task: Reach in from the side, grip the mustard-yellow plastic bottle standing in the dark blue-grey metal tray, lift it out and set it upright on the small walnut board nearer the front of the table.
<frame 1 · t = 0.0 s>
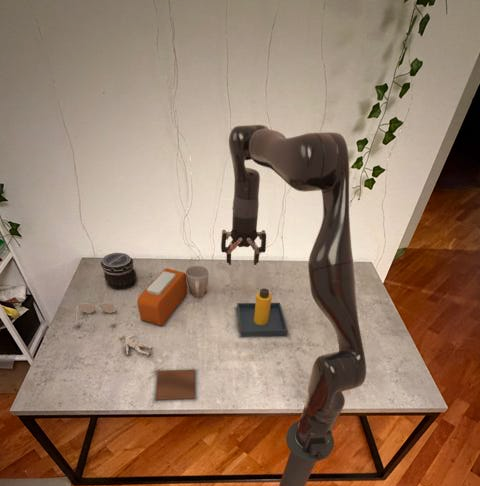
hand: (242, 263, 112), 23 cm above the table, tool pointing down, fingers open, 8 cm apart
yellow bottle: (261, 320, 131), resting on tray
mug: (198, 295, 140), on the table
orange box: (165, 307, 134), on the table
soldier figure: (136, 349, 118), on the table
board: (175, 385, 109), on the table
tray: (260, 321, 131), on the table
sunglasses: (97, 320, 127), on the table
container: (122, 282, 143), on the table
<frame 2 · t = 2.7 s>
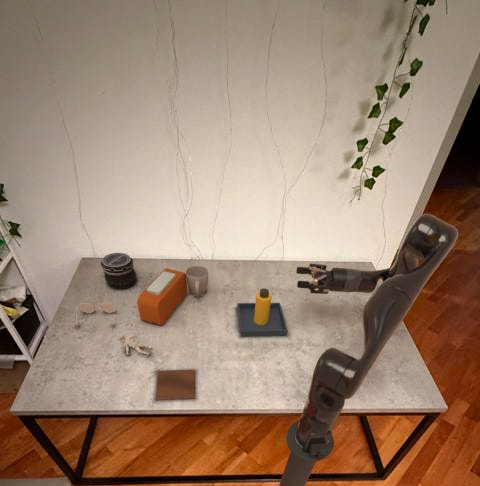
hand: (297, 277, 115), 20 cm above the table, tool horizontal, fingers open, 8 cm apart
nothing on the table moved.
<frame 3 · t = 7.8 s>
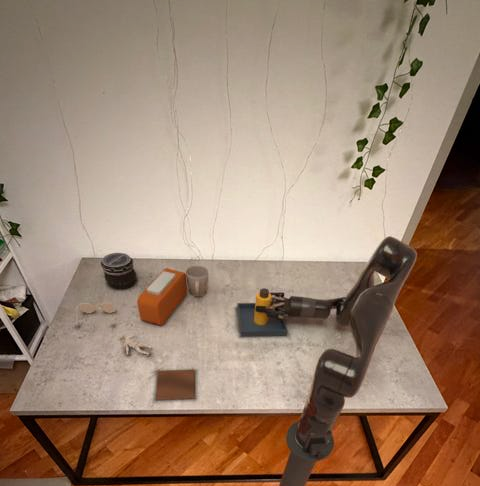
hand: (256, 303, 125), 8 cm above the table, tool horizontal, fingers closed on yellow bottle, 5 cm apart
yellow bottle: (261, 320, 131), point 1 cm above the table, touching gripper, tray
everything else where it was.
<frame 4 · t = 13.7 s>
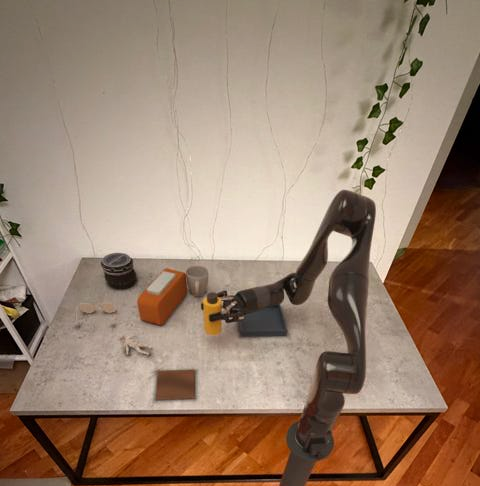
hand: (205, 312, 104), 18 cm above the table, tool horizontal, fingers closed on yellow bottle, 5 cm apart
yellow bottle: (213, 329, 111), point 10 cm above the table, touching gripper
everything else where it was.
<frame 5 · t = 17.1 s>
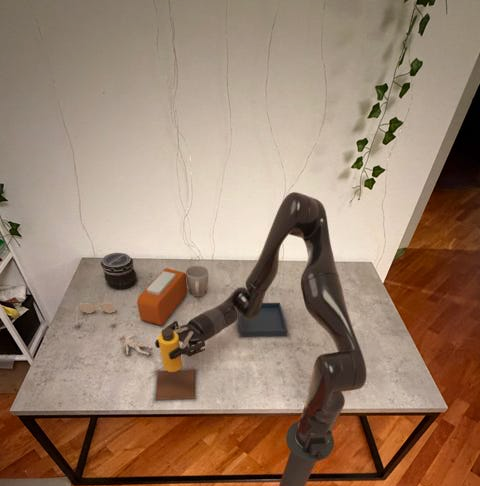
hand: (163, 350, 95), 16 cm above the table, tool horizontal, fingers closed on yellow bottle, 5 cm apart
yellow bottle: (172, 365, 102), point 9 cm above the table, touching gripper
everything else where it was.
when the fingers open (8 cm above the table, at t = 19.8 s): yellow bottle stays where it is, resting on board.
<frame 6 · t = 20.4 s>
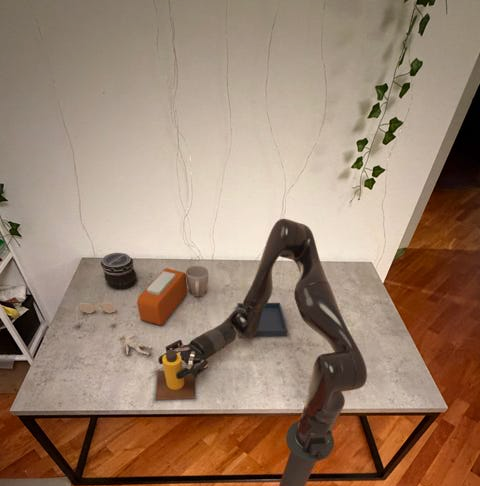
hand: (167, 369, 101), 9 cm above the table, tool horizontal, fingers open, 8 cm apart
yellow bottle: (175, 383, 109), point 1 cm above the table, touching board
everything else where it was.
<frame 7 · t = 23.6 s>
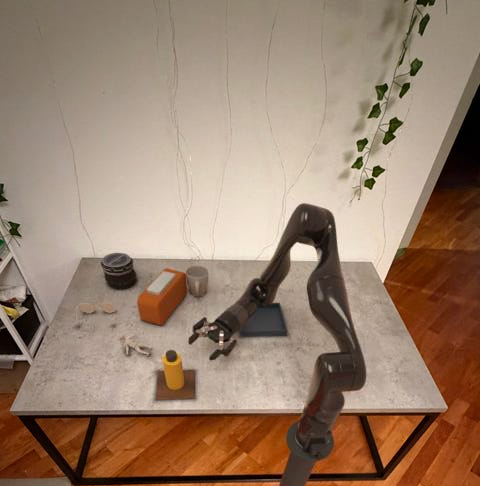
hand: (199, 350, 104), 11 cm above the table, tool horizontal, fingers open, 8 cm apart
nothing on the table moved.
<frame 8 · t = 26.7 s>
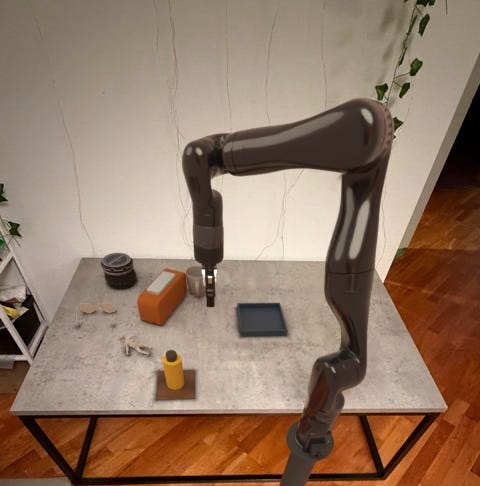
hand: (210, 297, 95), 26 cm above the table, tool pointing down, fingers open, 8 cm apart
nothing on the table moved.
at the end: yellow bottle inside the target area on the board (0.1 cm from its centre), point 0.8 cm above the board's base; yellow bottle tilted 0°; yellow bottle touching board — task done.
